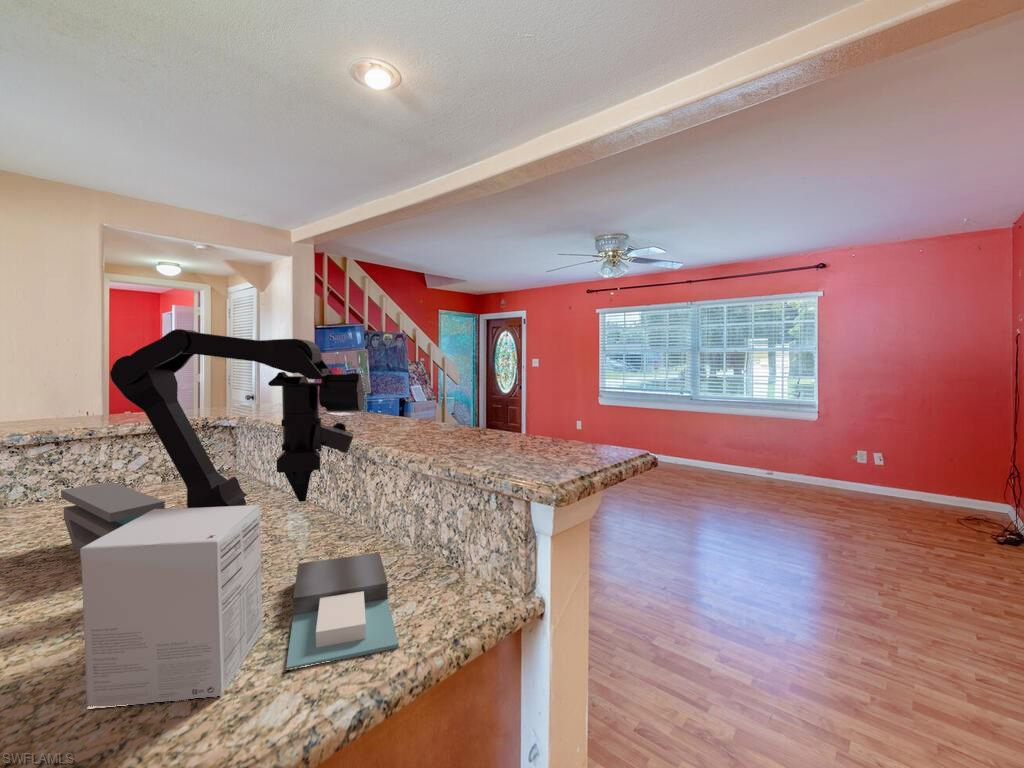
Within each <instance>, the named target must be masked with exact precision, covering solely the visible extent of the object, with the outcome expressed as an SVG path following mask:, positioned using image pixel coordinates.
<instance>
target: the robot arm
mask: <svg viewBox="0 0 1024 768" xmlns="http://www.w3.org/2000/svg"><path fill="white" fill-rule="evenodd" d="M195 355H200V356H206V357H216V358H222V359H223V358H225V359H233V360H239V361H249V362H256V363H258V364H261V365H265V366H268V367H270V368H273V369H276V370H280V371H279V372H278V373H277V374H276V376H274V378H272V379H271V380H270V381H268V383H267V385H268V386H269V387H281V393H282V395H281V396H282V397H281V400H282V419H281V420H280V421H281V427H282V444H281V451H283V452H282V453H281V454H279V455H278V457H277V459H276V473H279V474H280V473H282V474H283V473H284V475H285V477H286V479H287V481H288V483H289V484H290V486H291V488H292V491H293V492H294V495H295V497H296V499H297V502H299V503H303V502H306V501H307V497H308V490H309V485H310V480H311V475H312V473H313V472H314V471H317V470H320V469H321V459H322V458H321V453H322V452H323V451H322V448H323V447H325V448H330V449H334V450H337V451H338V452H340V453H344V454H348V453H349V451H350V447H351V444H352V442H353V438H354V433H352V432H351V431H349V430H348V431H347V428H346V423H342V422H340V421H339V422H338V421H336V422H335V424H333V425H332V426H331V425H325V424H322V417H320V411H319V410H320V409H319V408H320V407H319V405H320V406H321V407H322V408H324V409H325V410H326V411H327V412H328V413H332V412H333V413H344V412H345V413H347V412H348V413H350V412H351V413H353V412H355V413H356V412H358V413H359V412H362V411H363V410H364V407H365V390H364V384H363V381H362V373H360V372H351V373H334V372H333V371H332V370H331V368H330V367H329V366H328V365H327V363H325V361H324V359H322V351H321V349H320V347H319V346H318V345H317V344H316V343H315V342H313V341H312V340H307V339H298V338H281V339H280V338H279V339H277V338H275V339H264V340H263V339H261V340H258V339H250V338H242V337H234V336H227V335H220V334H219V335H218V334H210V333H203V332H198V331H196V330H191V329H181V328H177V329H173V330H171V331H169V332H168V333H166V334H165V335H164V336H162V337H161V338H159V339H157V340H155V341H153V342H151V343H149V344H147V345H144V346H143V347H140V348H138V349H137V350H135V351H134V352H133V353H132V354H130V355H125V356H121V357H120V358H118V359H116V361H115V362H113V365H112V367H111V369H110V371H109V376H110V379H111V382H112V383H113V384H114V386H115V387H116V388H117V389H118V391H119V392H120V393H121V395H122V396H123V397H124V398H125V399H126V400H127V401H129V402H130V403H132V404H133V405H134V406H136V407H137V408H139V409H140V410H142V412H144V414H145V415H146V416H147V417H146V418H147V419H148V420H149V422H150V424H151V425H152V429H153V430H154V432H155V433H156V435H157V437H158V439H159V440H160V443H161V444H162V445H163V448H164V449H165V451H166V452H167V454H168V456H169V458H170V460H171V462H172V463H173V464H174V465H173V466H174V467H175V469H176V470H177V472H178V474H179V476H180V477H181V480H182V481H183V483H184V485H185V487H186V508H203V507H225V506H247V502H246V499H245V497H247V496H248V495H247V493H245V492H244V491H243V489H242V488H241V486H240V483H239V480H238V478H237V477H236V476H232V477H231V478H228V479H227V478H225V477H224V476H222V474H220V473H219V472H218V470H217V469H216V468H215V465H214V463H212V460H211V459H210V456H209V455H208V453H207V451H206V449H205V448H204V445H203V444H202V442H201V440H200V439H199V436H198V435H197V433H196V431H195V429H194V428H193V426H192V424H191V423H190V420H189V419H188V417H187V414H186V413H185V412H184V410H183V407H182V406H181V404H180V402H179V400H178V390H179V389H178V386H179V385H178V381H177V378H176V375H175V374H176V373H177V372H179V371H180V370H181V369H183V368H184V367H185V366H186V364H187V363H188V362H189V361H190V360H191V358H192V357H194V356H195ZM286 372H287V373H290V374H300V376H297V375H295V376H291V375H288V374H287V373H286ZM308 380H321V382H319V381H313V382H312V381H308ZM322 446H323V447H322ZM320 452H321V453H320Z"/></svg>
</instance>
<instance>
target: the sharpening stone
mask: <svg viewBox="0 0 1024 768" xmlns="http://www.w3.org/2000/svg"><path fill="white" fill-rule="evenodd" d="M60 498H61V499H63V500H65V501H67V502H69V503H70V504H73V505H71V506H66V507H63V521H64V523H65V526H66V529H67V532H68V535H69V538H70V541H71V543H72V544H71V545H72V548H73V550H74V553H75V554H77V555H79V557H81V554H80V549H81V548H82V547H84V546H86V545H88V544H90V543H91V542H93V541H95V540H97V539H99V538H101V537H103V536H105V535H106V534H108V533H110V532H112V531H114V530H116V529H118V528H120V527H121V526H123V525H125V524H127V523H129V522H131V521H133V520H135V519H136V518H138V517H140V516H142V515H144V514H146V513H148V512H150V511H152V510H153V509H166V506H165V505H166V504H165V500H162V499H160V498H157V497H154V496H152V495H150V494H146V493H144V492H141V491H139V490H135V489H133V488H131V487H127V486H124V485H122V484H121V483H120V484H119V483H117V482H114V481H113V480H112V481H111V480H110V481H107V482H101V483H94V484H90V485H89V484H88V485H83V486H76V487H70V488H66V489H61V490H60Z"/></svg>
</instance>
